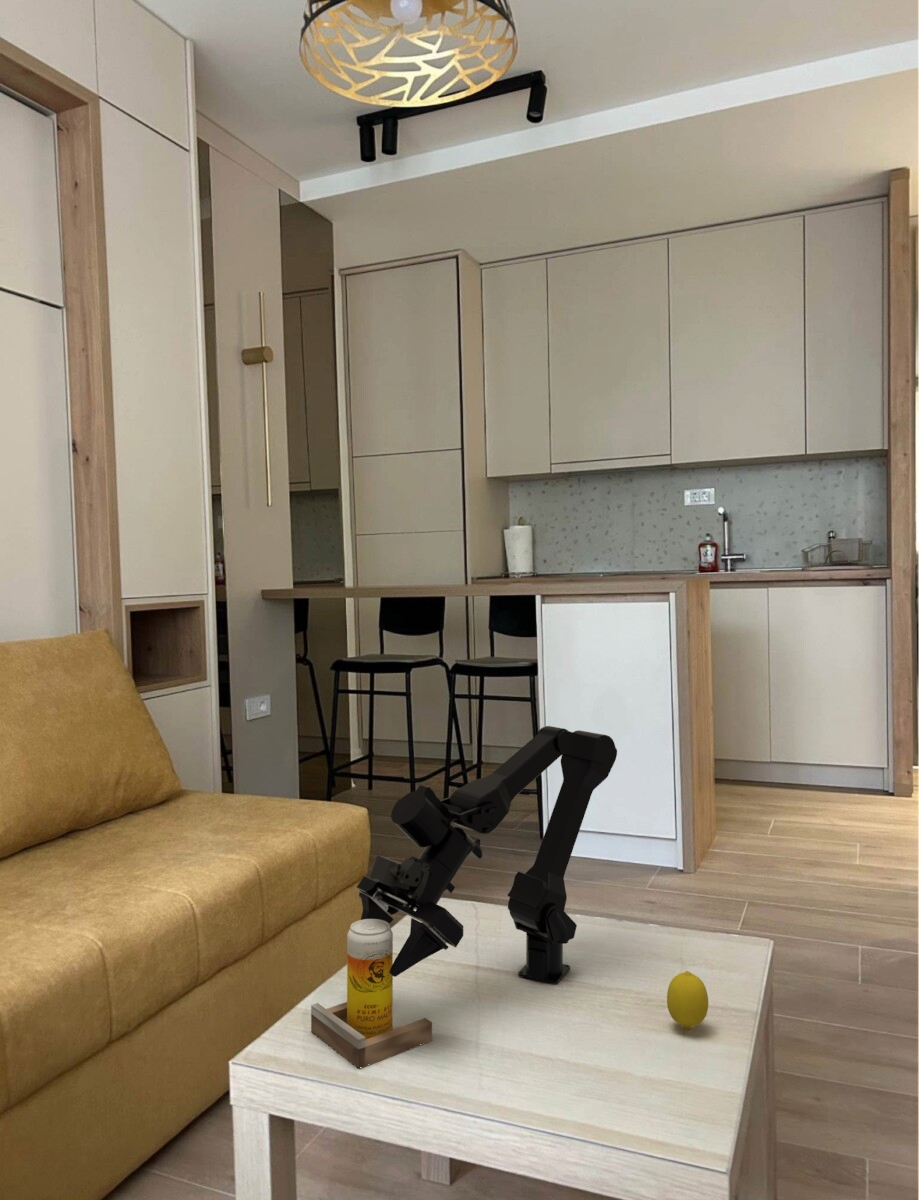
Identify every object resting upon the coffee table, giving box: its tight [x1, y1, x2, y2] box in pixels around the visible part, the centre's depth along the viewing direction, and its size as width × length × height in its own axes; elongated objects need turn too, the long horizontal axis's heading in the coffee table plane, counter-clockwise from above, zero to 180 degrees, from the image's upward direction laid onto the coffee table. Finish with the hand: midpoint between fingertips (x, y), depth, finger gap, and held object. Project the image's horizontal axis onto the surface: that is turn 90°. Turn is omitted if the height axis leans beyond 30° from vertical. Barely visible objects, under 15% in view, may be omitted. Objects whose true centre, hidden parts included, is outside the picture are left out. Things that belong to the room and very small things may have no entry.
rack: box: [310, 1001, 433, 1069], centre depth 122 cm, size 12×12×4 cm
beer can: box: [346, 919, 394, 1040], centre depth 122 cm, size 6×6×15 cm
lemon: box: [666, 970, 709, 1031], centre depth 124 cm, size 6×6×8 cm
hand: (372, 963), depth 122 cm, fingers open, 9 cm apart
